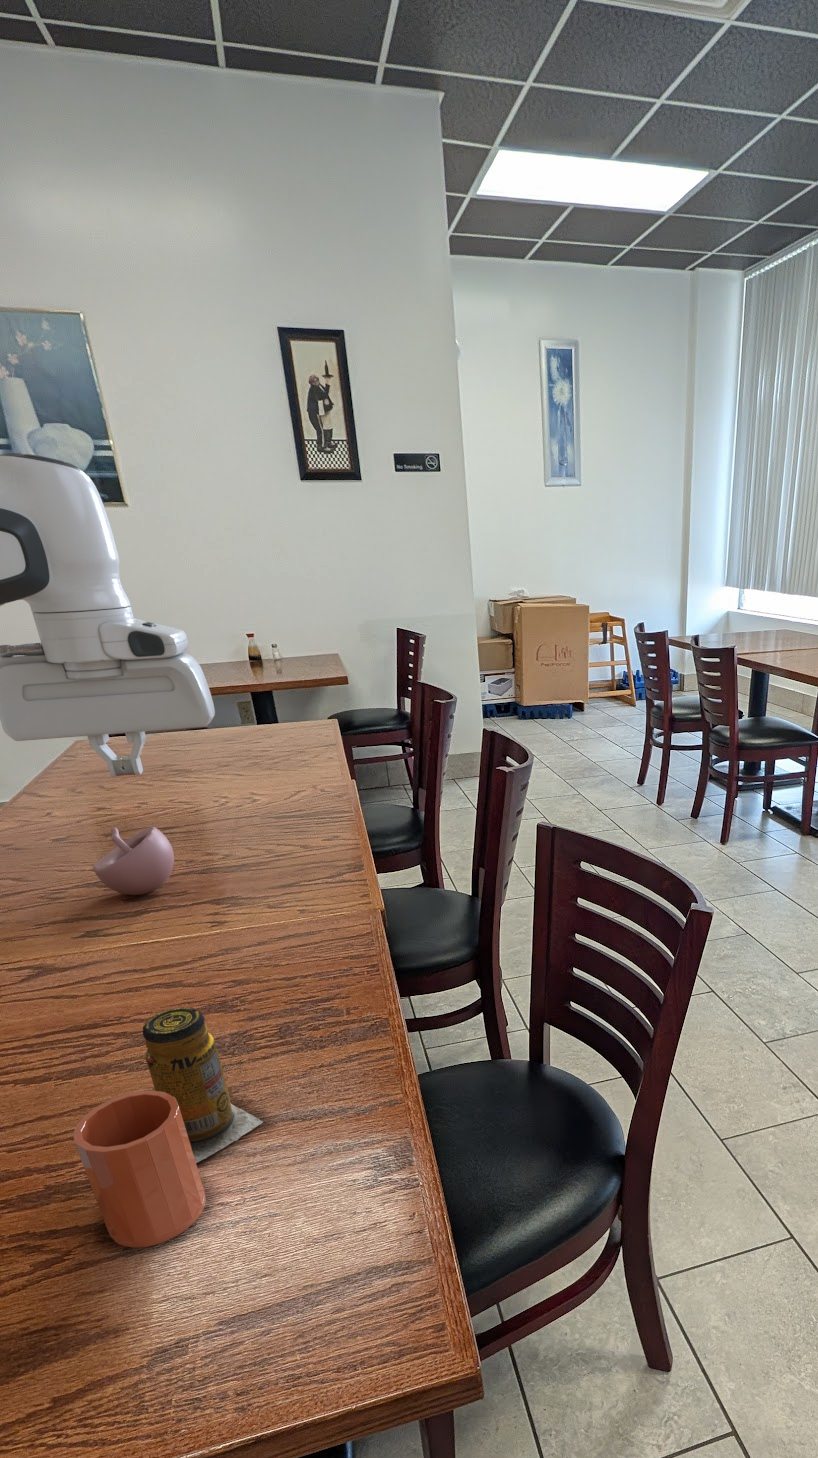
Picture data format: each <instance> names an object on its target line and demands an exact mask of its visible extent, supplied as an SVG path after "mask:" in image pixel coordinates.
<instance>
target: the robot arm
mask: <svg viewBox="0 0 818 1458" xmlns="http://www.w3.org/2000/svg"><path fill="white" fill-rule="evenodd" d="M114 536H115V535H114V533H113V530H112V526H111V522H110V520H109V517H108V513H107V511H106V508H105V505H104V502H103V499H102V497H101V495H100V493H99V491H98V488H97V486H96V485H95V483H94V482H93V480H92V478H91V477H90V476H89V475H88V474H86V473H85V472H84V471H83V470H82V469H80V468H79V467H78V466H76V465H74V464H72V463H70V462H66V461H63V460H61V459H57V458H52V457H49V456H43V455H37V454H30V453H20V452H19V453H18V452H11V453H7V452H6V453H4V454H0V607H2V606H4V605H5V604H8V603H12V602H16V601H21V600H22V601H25V602H26V603H27V604H28V605H29V607H30V610H31V611H30V612H32V613H31V614H32V617H33V621H34V623H35V627H36V630H37V633H38V637H39V642H34V643H33V642H32V643H23V644H16V645H15V644H14V645H11V644H1V645H0V723H1V727H2V730H3V732H4V733H5V734H6V735H7V736H8V737H9V738H11V740H14V742H23V741H24V742H25V741H37V740H49V739H50V740H51V739H65V738H77V737H78V738H79V737H87V739H88V743H89V746H90V748H92V750H93V751H94V752H95V753H96V754H97V755H99V756H100V758H101V759H102V760H103V761H104V762H106V765H107V768H108V771H109V774H110V777H123V776H124V777H125V776H136V775H137V776H138V775H142V774H143V772H144V768H143V764H142V760H141V757H140V756H142V753H143V750H144V747H145V744H146V740H147V736H146V732H157V731H169V730H183V729H185V730H186V729H197V728H205V727H208V725H210V723H212V721H213V719H214V718H215V715H216V708H215V705H214V700H213V697H212V693H211V690H210V687H209V685H208V681H207V678H206V676H205V673H204V670H203V668H202V667H201V665H200V664H199V662H198V661H197V659H195V657H193V656H192V655H191V654H189V653H186V652H185V651H186V650H187V649H188V648H189V647H188V646H189V639H188V636H187V634H186V632H185V631H184V630H183V629H180V628H177V627H172V626H168V625H164V624H160V623H155V622H152V621H148V620H143V619H139V618H136V617H135V616H134V613H133V607H132V604H131V601H130V599H129V597H128V595H127V594H126V592H125V589H124V588H123V585H122V582H121V577H120V555H119V552H118V547H117V544H116V541H115V537H114ZM118 734H124V735H125V737H126V743H128V744H133V745H132V748H131V751H130V754H129V755H127V756H118V755H117V754H116V753H115V752H114V751H113V749H111V748H110V747H109V745H108V744H107V743H109V741H110V736H109V735H118Z"/></svg>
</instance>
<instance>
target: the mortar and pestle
mask: <svg viewBox="0 0 818 1458" xmlns="http://www.w3.org/2000/svg"><path fill="white" fill-rule="evenodd" d="M110 833H111V841H112V842H113V843H114V844H115V846H116V847H114V848H113V849H111V850H110V851H108V853H106V854H105V855H104V856H103V857H101V858H100V859H98V861H96V862H94V864H93V865H92V869H93V872H94V873H95V875H96V877H97V878H98V879H99V880H100V882H102V883H103V885H105V886H106V887H107V888H109V889H110V890H112V891H114V892H117V893H120V894H123V895H128V896H129V895H130V896H140V895H145V894H149V893H152V892H154V891H156V890H157V889H159V888H160V887H162V886H163V885H165V883H166V882H167V881H168V880H169V878H170V877H171V875H172V872H173V869H174V866H175V854H174V850H173V847H172V844H171V842H170V841H169V839H168V838H167V836H166V835H165V834H164V833H163V832H162V831H160V830H159V829H158V828H157V827H155V826H153V825H151V826H149V827H147V828H144V829H142V830H140V831H138V832H137V833H135V834H134V835H132V836H130V837H129V838H127V839H125V840H123V839H122V838H121V837H120V832H119V830H118V828H117V827H111V828H110Z"/></svg>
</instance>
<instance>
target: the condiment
mask: <svg viewBox="0 0 818 1458" xmlns="http://www.w3.org/2000/svg"><path fill="white" fill-rule="evenodd" d="M142 1036H143V1039H144V1043H145V1047H146V1049H147V1050H146V1052H145V1063H146V1064H147V1067H148V1071H149V1074H150V1079H151V1081H152V1084H153V1088H154V1091H161V1092H165V1093H167V1094H169V1095H171V1096H173V1097H175V1098H176V1101H177V1103H178V1105H179V1108H180V1111H181V1115H182V1118H183V1121H184V1125H185V1128H186V1131H187V1135H188V1138H189V1141H190V1145H191V1148H192V1151H193V1155H194V1158H195V1161H196V1164H197V1163H199V1162H201V1161H203V1160H205V1159H208V1158H209V1157H210V1156H212V1155H214V1154H216V1153H217V1152H219V1151H221V1150H222V1149H224V1148H226V1147H228V1146H229V1145H230V1144H232V1143H234V1142H237V1141H238V1140H239V1139H240V1138H241V1137H242V1136H245V1135H246V1134H248V1133H249V1132H251V1131H253V1130H254V1129H256V1128H257V1127H259V1126H260V1125H262V1124H263V1123H264V1121H263V1120H261V1119H259V1118H258V1117H256V1116H254V1115H253V1114H251V1113H248V1112H247V1111H246V1110H244V1109H242V1108H239V1107H238V1106H235V1105H234V1104H232V1103H231V1097H230V1093H229V1092H230V1091H229V1089H228V1084H227V1078H226V1076H225V1074H224V1069H223V1067H222V1062H221V1059H220V1052H219V1051H218V1048H217V1044H216V1041H215V1038H214V1037H213V1035H212V1034H211V1033H209V1029H208V1025H206V1021H205V1016H204V1015H203V1013H202V1012H201V1011H200V1010H199V1009H196V1008H193V1007H184V1006H183V1007H175V1008H171V1009H166V1010H163V1011H161V1012H158V1013H157V1014H154V1015H152V1016H151V1017H150V1018H149V1019H148V1020H146V1021H145V1023H144V1025H143V1027H142Z"/></svg>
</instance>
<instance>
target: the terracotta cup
mask: <svg viewBox="0 0 818 1458" xmlns="http://www.w3.org/2000/svg"><path fill="white" fill-rule="evenodd" d="M75 1126H76V1127H75V1128H74V1130H73V1132H72V1137H73V1142H74V1145H75V1148H76V1150H77V1153H78V1156H79V1158H80V1161H81V1164H82V1166H83V1169H84V1172H85V1174H86V1177H87V1179H88V1182H89V1185H90V1187H91V1190H92V1193H93V1195H94V1198H95V1201H96V1204H97V1206H98V1209H99V1211H100V1214H101V1217H102V1219H103V1222H104V1224H105V1227H106V1230H107V1232H108V1234H109V1237H110V1238H111V1239H112V1241H114V1242H115V1243H117V1245H120V1246H123V1247H125V1248H126V1247H127V1248H134V1249H135V1248H147V1247H152V1246H156V1245H159V1244H162V1243H165V1242H167V1241H169V1240H171V1239H173V1238H175V1237H177V1236H179V1235H181V1234H182V1233H183V1232H185V1231H187V1229H189V1228H190V1227H191V1226H192V1225H194V1224H195V1223H196V1221H197V1220H198V1219H199V1218H200V1216H201V1215H202V1213H203V1211H204V1209H205V1206H206V1201H207V1200H206V1192H205V1188H204V1185H203V1182H202V1178H201V1175H200V1171H199V1168H198V1165H197V1163H196V1161H195V1158H194V1155H193V1151H192V1148H191V1145H190V1141H189V1138H188V1135H187V1131H186V1128H185V1125H184V1121H183V1118H182V1115H181V1111H180V1108H179V1105H178V1103H177V1101H176V1098H175V1097H173V1096H171V1095H169V1094H167V1093H165V1092H161V1091H155V1090H151V1089H150V1090H149V1089H148V1090H140V1091H134V1092H133V1091H132V1092H129V1093H125V1094H122V1095H119V1096H116V1097H113V1098H111V1099H108V1100H106V1101H104V1102H103V1103H101V1104H99V1105H98V1106H96V1107H93V1108H92V1109H91V1110H89V1111H88V1113H86V1114H85V1115H84V1116H83V1117H82V1118H81V1119H80V1120H79V1121H78V1122H77V1124H76V1125H75Z"/></svg>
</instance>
